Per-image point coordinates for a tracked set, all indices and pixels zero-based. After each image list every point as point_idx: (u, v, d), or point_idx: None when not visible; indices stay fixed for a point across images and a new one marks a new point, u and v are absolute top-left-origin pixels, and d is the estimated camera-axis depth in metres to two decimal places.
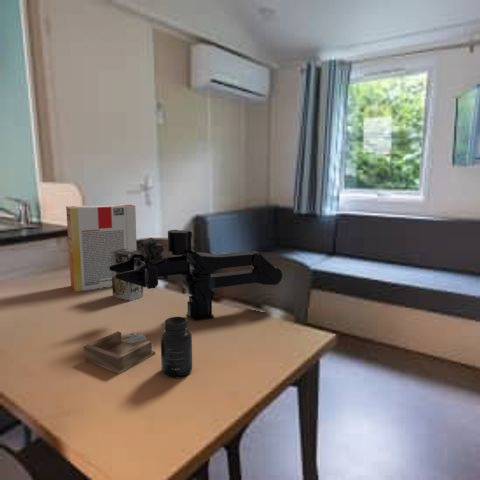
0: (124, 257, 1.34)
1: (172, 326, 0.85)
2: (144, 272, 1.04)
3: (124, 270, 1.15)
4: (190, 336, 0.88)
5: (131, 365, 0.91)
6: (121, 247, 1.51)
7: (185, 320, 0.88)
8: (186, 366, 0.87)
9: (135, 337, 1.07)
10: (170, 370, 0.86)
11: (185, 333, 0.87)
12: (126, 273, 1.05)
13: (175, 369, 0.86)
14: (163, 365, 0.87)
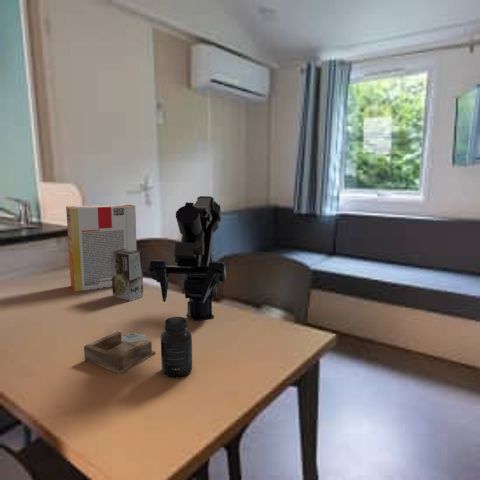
0: (124, 257, 1.34)
1: (172, 326, 0.85)
2: (218, 275, 0.98)
3: (166, 287, 0.99)
4: (190, 336, 0.88)
5: (131, 365, 0.91)
6: (121, 247, 1.51)
7: (185, 320, 0.88)
8: (186, 366, 0.87)
9: (135, 337, 1.07)
10: (170, 370, 0.86)
11: (185, 333, 0.87)
12: (206, 291, 0.96)
13: (175, 369, 0.86)
14: (163, 365, 0.87)
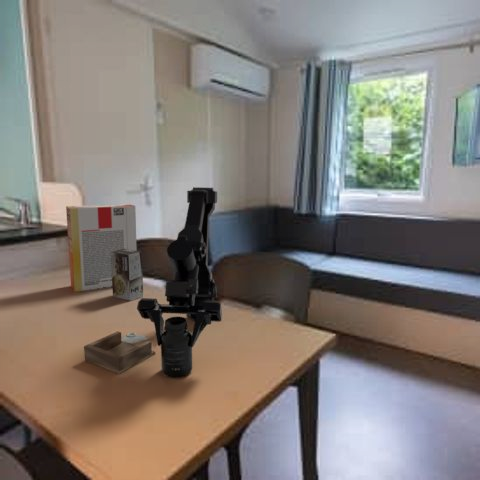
0: (124, 257, 1.34)
1: (172, 326, 0.85)
2: (209, 316, 0.90)
3: (162, 329, 0.91)
4: (190, 336, 0.88)
5: (131, 365, 0.91)
6: (121, 247, 1.51)
7: (185, 320, 0.88)
8: (186, 366, 0.87)
9: (135, 337, 1.07)
10: (170, 370, 0.86)
11: (185, 333, 0.87)
12: (196, 334, 0.88)
13: (175, 369, 0.86)
14: (163, 365, 0.87)
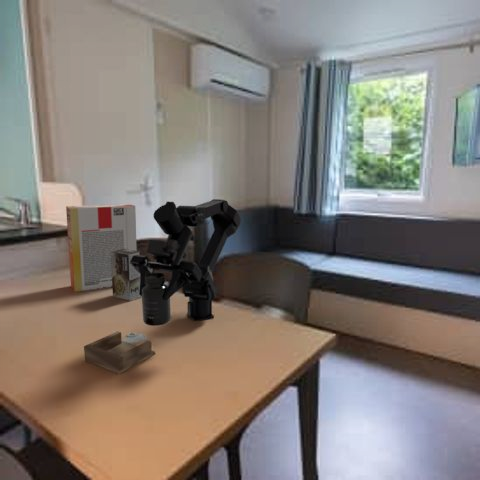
0: (124, 257, 1.34)
1: (148, 279, 0.97)
2: (185, 274, 0.98)
3: None
4: (165, 291, 0.98)
5: (131, 365, 0.91)
6: (121, 247, 1.51)
7: (162, 276, 0.98)
8: (160, 316, 0.98)
9: (135, 337, 1.07)
10: (146, 318, 0.98)
11: (160, 287, 0.98)
12: (170, 288, 0.98)
13: (150, 317, 0.98)
14: None
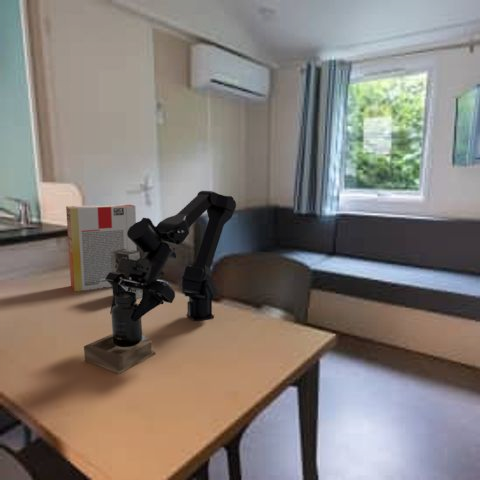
0: (124, 257, 1.34)
1: (117, 298, 0.93)
2: (155, 295, 0.94)
3: None
4: (134, 311, 0.94)
5: (131, 365, 0.91)
6: (121, 247, 1.51)
7: (132, 295, 0.94)
8: (128, 338, 0.94)
9: None
10: (114, 338, 0.95)
11: (129, 307, 0.94)
12: (139, 309, 0.93)
13: (118, 338, 0.94)
14: None
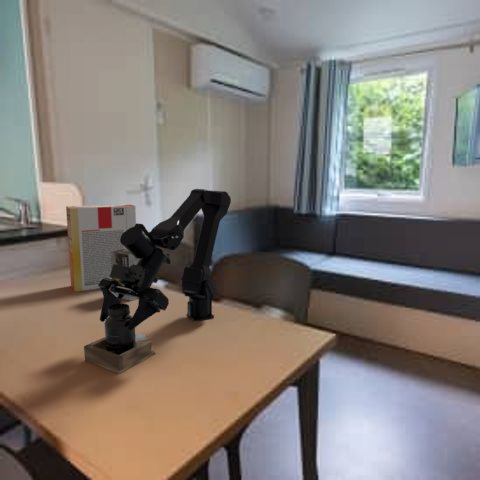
0: (124, 257, 1.34)
1: (110, 311, 0.92)
2: (151, 303, 0.92)
3: None
4: (127, 324, 0.92)
5: (131, 365, 0.91)
6: (121, 247, 1.51)
7: (125, 308, 0.93)
8: (121, 351, 0.92)
9: (135, 337, 1.07)
10: None
11: (122, 320, 0.92)
12: (135, 318, 0.91)
13: (111, 351, 0.93)
14: None
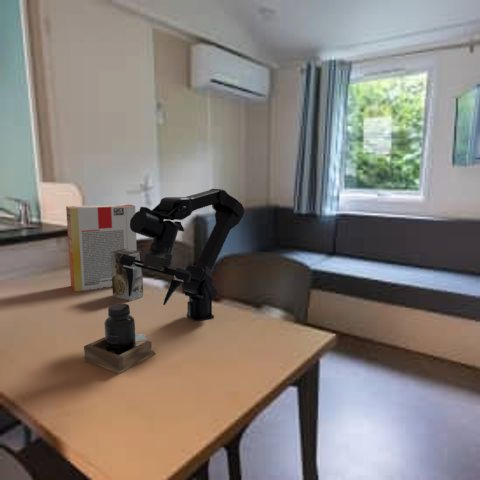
0: None
1: (110, 311, 0.92)
2: (183, 282, 1.05)
3: (134, 280, 1.06)
4: (127, 324, 0.92)
5: (131, 365, 0.91)
6: (121, 247, 1.51)
7: (125, 308, 0.93)
8: (121, 351, 0.92)
9: (135, 337, 1.07)
10: None
11: (122, 320, 0.92)
12: (169, 295, 1.04)
13: (111, 351, 0.93)
14: None
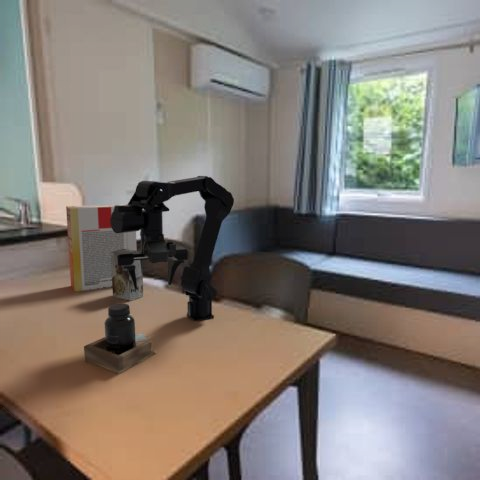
0: None
1: (110, 311, 0.92)
2: None
3: None
4: (127, 324, 0.92)
5: (131, 365, 0.91)
6: (121, 247, 1.51)
7: (125, 308, 0.93)
8: (121, 351, 0.92)
9: (135, 337, 1.07)
10: None
11: (122, 320, 0.92)
12: None
13: (111, 351, 0.93)
14: None
